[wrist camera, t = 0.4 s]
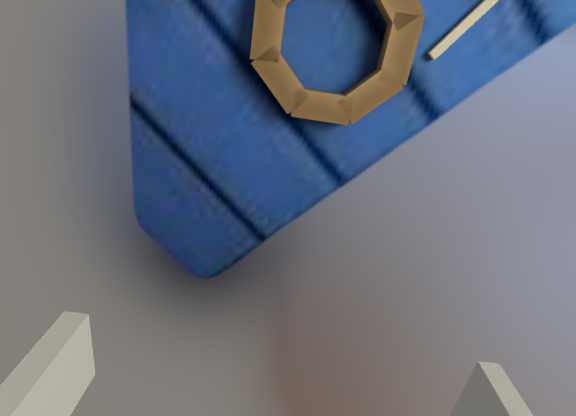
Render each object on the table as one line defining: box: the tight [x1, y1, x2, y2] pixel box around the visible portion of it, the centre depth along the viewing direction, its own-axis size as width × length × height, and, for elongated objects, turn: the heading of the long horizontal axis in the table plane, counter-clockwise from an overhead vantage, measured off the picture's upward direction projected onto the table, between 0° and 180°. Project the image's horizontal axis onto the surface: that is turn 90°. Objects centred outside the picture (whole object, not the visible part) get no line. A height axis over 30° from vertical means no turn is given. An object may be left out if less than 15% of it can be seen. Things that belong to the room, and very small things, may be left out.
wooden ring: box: [250, 0, 425, 125], centre depth 31 cm, size 14×14×2 cm
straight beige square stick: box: [428, 0, 498, 60], centre depth 30 cm, size 10×1×1 cm, turn 135°
